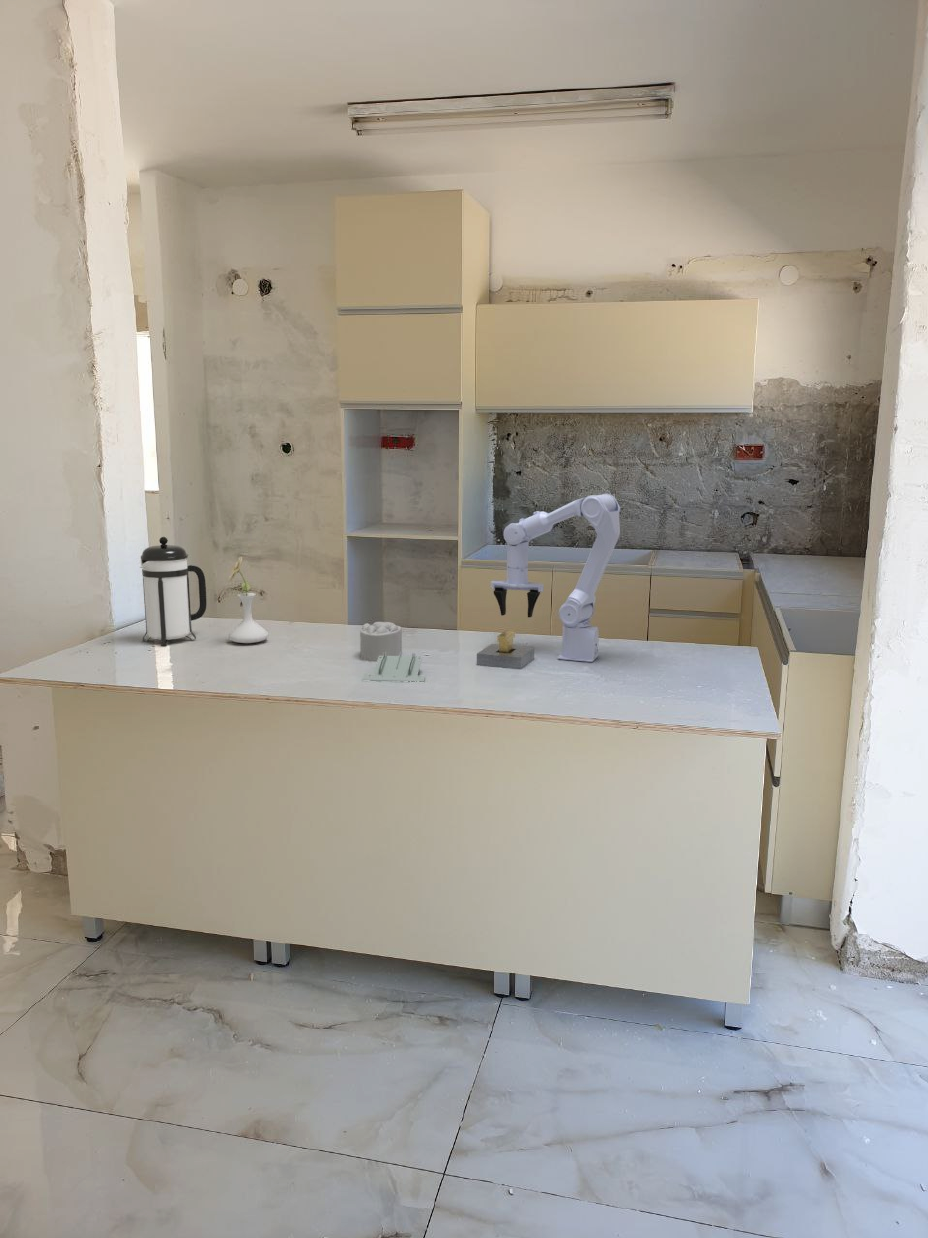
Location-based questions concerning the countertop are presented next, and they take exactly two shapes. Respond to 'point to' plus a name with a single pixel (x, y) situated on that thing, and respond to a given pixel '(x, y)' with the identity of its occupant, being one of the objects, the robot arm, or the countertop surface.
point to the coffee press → (169, 592)
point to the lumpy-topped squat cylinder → (380, 640)
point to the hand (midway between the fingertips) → (516, 615)
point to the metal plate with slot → (505, 657)
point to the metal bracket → (396, 669)
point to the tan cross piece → (506, 641)
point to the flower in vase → (246, 616)
